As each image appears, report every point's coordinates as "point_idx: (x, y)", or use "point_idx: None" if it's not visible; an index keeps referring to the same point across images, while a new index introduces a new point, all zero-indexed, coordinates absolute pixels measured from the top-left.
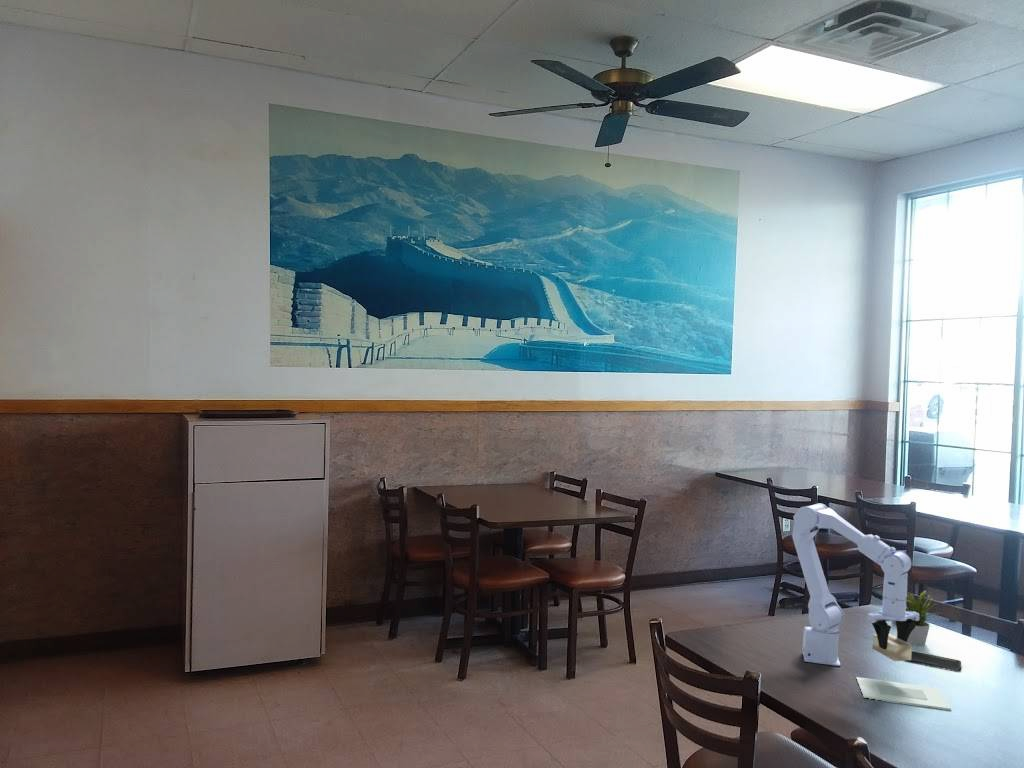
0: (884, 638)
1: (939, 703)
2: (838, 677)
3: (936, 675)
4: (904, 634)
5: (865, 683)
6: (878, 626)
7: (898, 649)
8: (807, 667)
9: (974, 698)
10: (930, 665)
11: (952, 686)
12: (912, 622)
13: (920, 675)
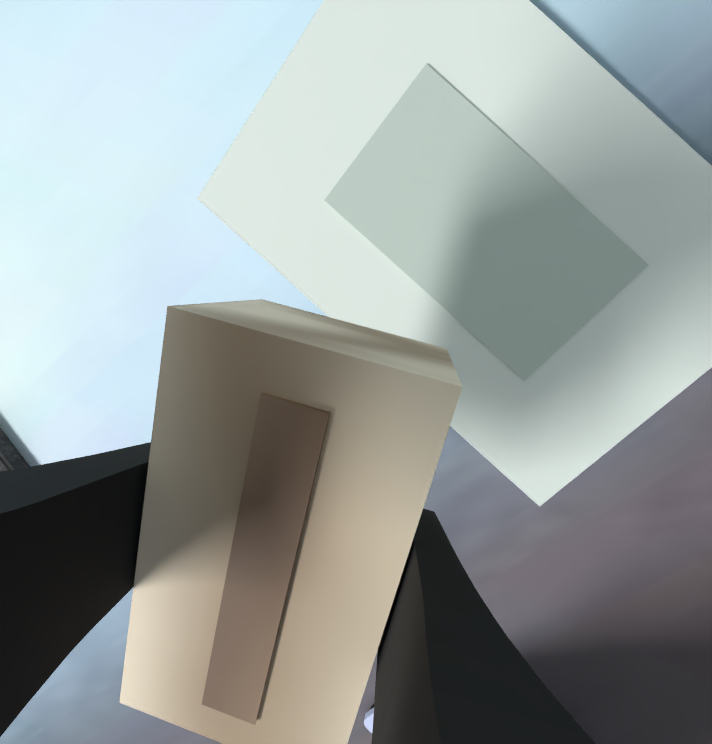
0: (490, 613)
1: None
2: (622, 558)
3: (63, 347)
4: (52, 528)
5: (581, 419)
6: None
7: (399, 359)
8: (661, 718)
9: (98, 26)
10: (4, 439)
11: (90, 208)
12: None
13: (141, 381)
